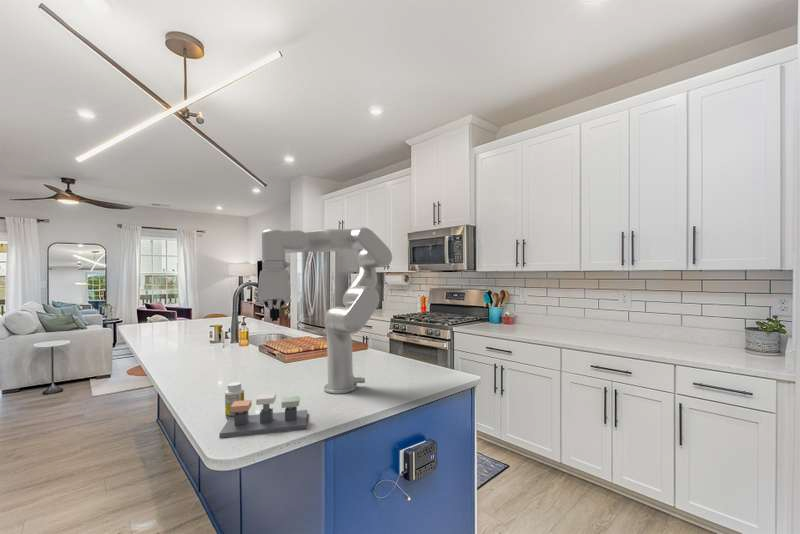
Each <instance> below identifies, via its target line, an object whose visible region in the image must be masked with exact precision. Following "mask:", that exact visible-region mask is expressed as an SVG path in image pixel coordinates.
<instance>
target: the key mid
mask: <svg viewBox="0 0 800 534" xmlns="http://www.w3.org/2000/svg"><path fill="white" fill-rule="evenodd" d="M276 395H277V393H276V392H271V393H259V394H258V395H257V397H256V399H255V402H256V403H255V404H256V406H262V409H263V412H269V411H270V407H271V406H270V405H271V404H272V405H273V404H275V401H276V399H277V397H276Z"/></svg>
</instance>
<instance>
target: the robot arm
mask: <svg viewBox="0 0 800 534" xmlns="http://www.w3.org/2000/svg"><path fill="white" fill-rule="evenodd" d="M358 250H360V251H359V252H358V254H357V263H358V275H357V276H356V278H355V279H354V280H353V282H352V283H351V284H350V285H349V287H348V289H346V291H345V293H344V294H343V296H342V303H343V305H344V306H333V307H330V308H329V309H328V310H327V311H326V312H325V315H324V320H323V321H324V329H325V333H326V343H327V345H326V346H327V347H326V348H327V349H326V350H327V352H326V353H327V354H326V355H327V384H325V385H324V386H323V391H324V392H326V393H329V394H335V395H336V394H346V393H350V392H354V391H355V390H356V389H357V388H358V385H357V384H365V383H366V379H365V377H361V376H358V377H355V376H354V370H353V369H354V368H353V367H354V366H353V339H352V335H353V334H358V333H359V332H361V331H362V329H364V327H365V326H366V325H367V323H368V321H369V320H370V318H371V317H372V316H373V314H374V313H375V312H376V309H377V308H378V306H379V302H380V294H379V292H378V291H377V289H376V288H375V287H376V286H377V283H378V274H377V269H378V268H387V267H388V266H389V265H391V263H392V260H393V254H392V251H391V250H390V248H389V247H388V246H387V245H386V243H385V242H384V241H383V240H382V239H381V238H380V237H379V236H378V235H377V234H376V233H375V232H374V231H373V230H371V229H369V228H368V227H365V226H364V227H363V226H362V227H358V228H357V227H356V228H350V229H349V228H345V229H341V228H340V229H339V228H327V229H320V230H313V231H306V232H305V231H303V230H299V229H298V230H281V229H266V230H263V231H262V233H261V257H262V258H261V264H262V265H261V267H262V268H261V269H262V270H260V271H259V276H258V289H257V291H258V292H257V294H258V296H257V297H258V298H257V303H258V304H260V305H265V306H266V308H268V309H269V319H271V322H278V320H279V319H280V318H281V316H280V313H281V311H280V310H281V307H283V306H284V304H288V303H291V302H292V299H291V279H290V273H289V270H287V268H289V267H291V263H290V262H288V261H287V262H286V254H291V253H292V254H294V253H295V254H296V253H311V252H312V253H327V252H343V251H348V252H349V251H358ZM376 268H377V269H376ZM273 301H276V306H274V303H273Z"/></svg>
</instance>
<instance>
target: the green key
mask: <svg viewBox="0 0 800 534" xmlns="http://www.w3.org/2000/svg"><path fill="white" fill-rule="evenodd" d="M300 400H301V399H300V395H295V396H293V395H291V396H283V397H282V400H281V408H282V409H283V408H285V409H286V407H288V410H294V407H297V408H298V407H300Z"/></svg>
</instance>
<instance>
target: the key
mask: <svg viewBox="0 0 800 534" xmlns="http://www.w3.org/2000/svg"><path fill="white" fill-rule="evenodd" d="M252 405H253V403H252V399H244V401H234V403H233V404H232V406H231V412H238V415H240V414H245V411H248V412H249V411H250V408H251V406H252Z"/></svg>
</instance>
